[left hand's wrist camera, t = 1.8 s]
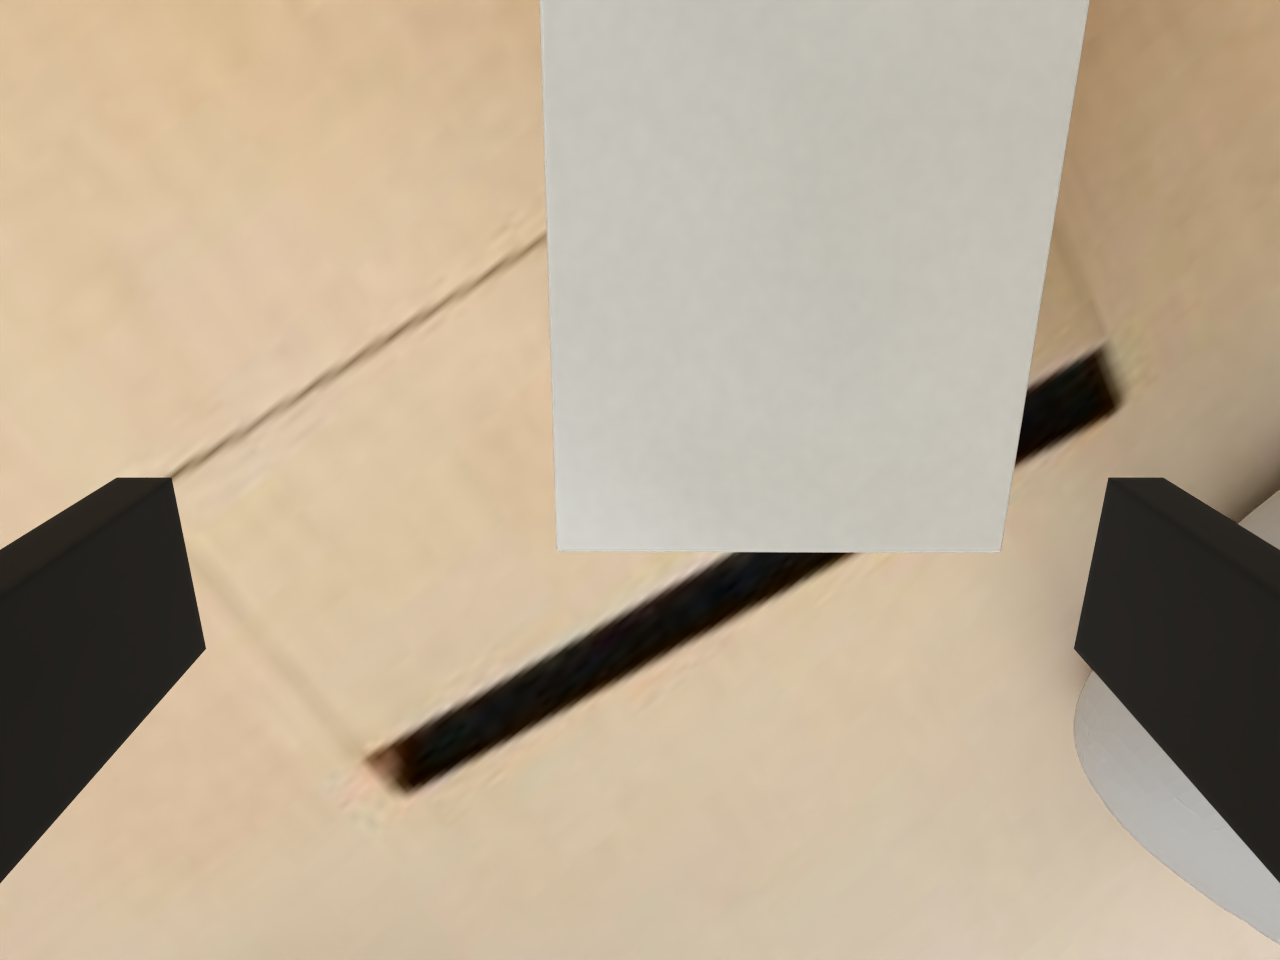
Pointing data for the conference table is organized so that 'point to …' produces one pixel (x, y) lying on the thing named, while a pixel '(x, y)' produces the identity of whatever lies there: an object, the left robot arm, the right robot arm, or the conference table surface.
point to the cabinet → (797, 266)
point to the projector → (1175, 793)
